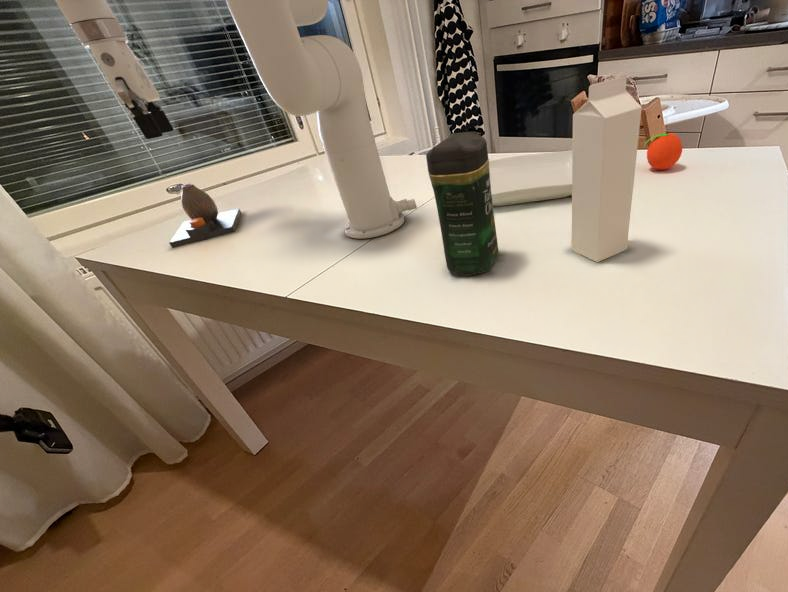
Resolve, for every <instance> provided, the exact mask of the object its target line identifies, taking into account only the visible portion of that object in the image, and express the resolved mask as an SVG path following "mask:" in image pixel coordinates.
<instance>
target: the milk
mask: <svg viewBox="0 0 788 592" xmlns="http://www.w3.org/2000/svg"><path fill="white" fill-rule="evenodd" d="M627 79H628V78H627V76H626V75H623V76H619V77H616V78H612V79H608V80H603V81H601V82H597V83H593V84H590V85H589V87H588V98H587V99H588V100H587V101H586V102H585V103H584V104H582V105H581V106H580V108H578V109H577V110H576V111H575V112H574V113H573V114H572V150H573V152H572V195H571V246H570V247H571V251H572V252H575V253H576V254H578V255H581V256H583V257H585V258H587V259H590V261H593V262H595V263H599V262H602V261H603V260H607V259H608V258H610V257H613V256H615V255H617V254H620V253H622V252H624V251H627V249H628V241H629V232H630V231H629V230H630V222H631V212H632V203H633V194H634V185H635V184H634V183H635V174H636V165H637V158H638V157H637V156H638V147H639V146H638V145H639V137H640V129H641V128H640V127H641V118H642V109H643V107H642V105H640V104H639V103H638V101H636V99H635V98H634V97H633V96H632V95H631V94H630V93H629V92H628V90H627Z"/></svg>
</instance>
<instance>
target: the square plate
mask: <svg viewBox="0 0 788 592" xmlns="http://www.w3.org/2000/svg"><path fill="white" fill-rule="evenodd" d="M572 152H573V149H569V150H561V151H552V152H551V151H550V152H542V153H534V154H533V153H532V154H524V155H517V156H510V157H504V158H497V159H491V160H489V172H490V185H491V194H492V203H493V207H502V206H509V205H517V204H523V203H524V204H525V203H531V202H538V201H547V200H555V199H562V198H566V197H570V196H572Z"/></svg>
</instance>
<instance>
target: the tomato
mask: <svg viewBox="0 0 788 592" xmlns="http://www.w3.org/2000/svg"><path fill="white" fill-rule="evenodd" d="M651 140H652V141H651ZM650 141H651V142H650ZM648 142H650V143H649V145H648V147H647V149H646V159H647V163H648V164H649V166H650V167H651V168H653V169H654V170H660V171H664V170H668V169H669V168H672V167H673V166H675V165H676V163H678V161H679V159H680V158H681V156H682V153H683V143H682V140H681V139H680V137H679V136H677V135H676V134H674V133H670V132H666V133H659V134H655V135H654V136H652V137H651V138H649V139H647V141H646V142H645V143H644V145H643V147H645V145H646V144H648Z"/></svg>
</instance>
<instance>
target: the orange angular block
mask: <svg viewBox="0 0 788 592" xmlns="http://www.w3.org/2000/svg"><path fill="white" fill-rule="evenodd" d="M190 220H191V221H189V220H188V221H189V223H190V225H191V226H192V228H196V227H200V226H203V225H205V224H206V223H205V221H204V219H203V218H195V219H193V220H192V219H190Z"/></svg>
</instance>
